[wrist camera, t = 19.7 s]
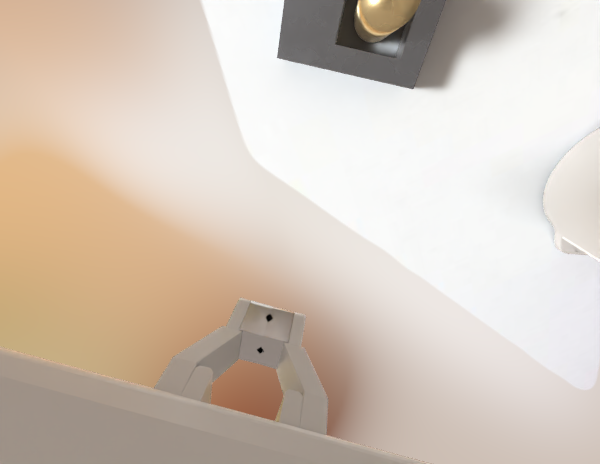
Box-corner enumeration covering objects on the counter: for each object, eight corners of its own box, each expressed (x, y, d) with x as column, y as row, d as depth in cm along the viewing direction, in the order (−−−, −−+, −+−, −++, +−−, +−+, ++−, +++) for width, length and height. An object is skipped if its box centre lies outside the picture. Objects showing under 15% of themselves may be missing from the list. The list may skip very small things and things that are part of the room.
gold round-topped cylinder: (402, -9, 25) (432, -45, 17) (390, 44, 27) (412, 34, 19) (358, -14, 25) (368, -52, 17) (350, 40, 27) (355, 27, 19)
